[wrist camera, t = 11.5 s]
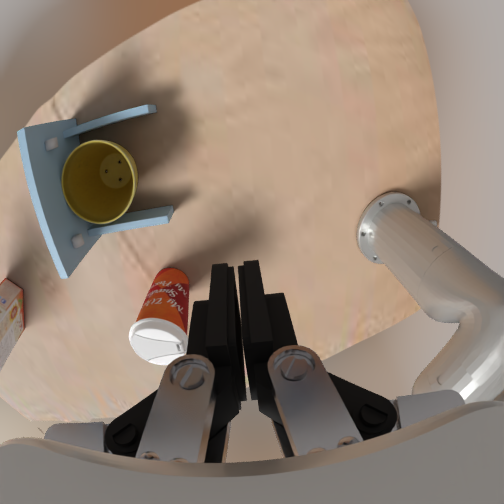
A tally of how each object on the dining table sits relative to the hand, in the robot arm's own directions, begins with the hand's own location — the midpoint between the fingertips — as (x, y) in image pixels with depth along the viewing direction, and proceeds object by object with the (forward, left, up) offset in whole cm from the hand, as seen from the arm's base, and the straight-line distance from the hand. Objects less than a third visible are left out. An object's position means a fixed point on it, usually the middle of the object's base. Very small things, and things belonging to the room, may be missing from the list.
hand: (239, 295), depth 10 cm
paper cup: (+11, +17, -28) cm, 35 cm away
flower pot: (+15, -2, -28) cm, 32 cm away
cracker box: (+51, +19, -28) cm, 61 cm away
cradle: (+14, -2, -28) cm, 31 cm away
